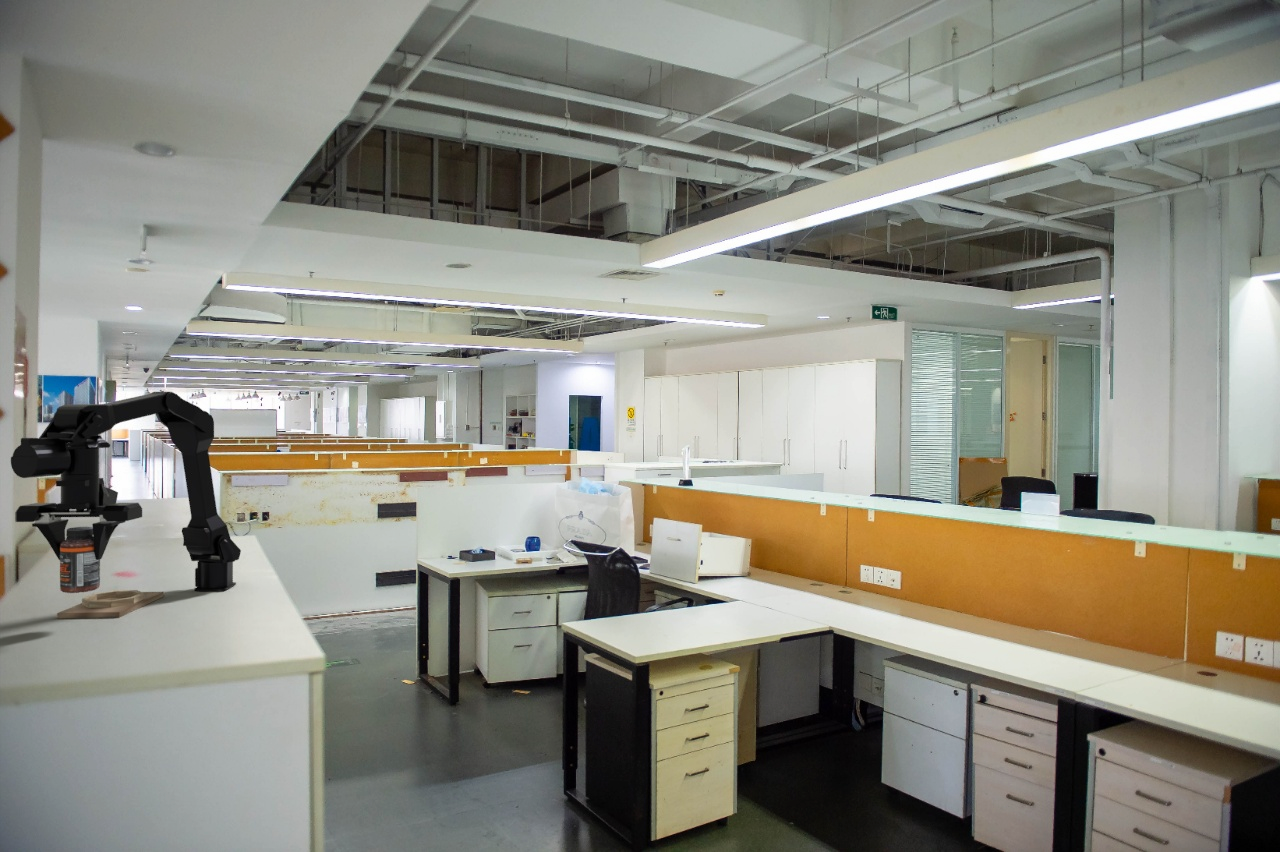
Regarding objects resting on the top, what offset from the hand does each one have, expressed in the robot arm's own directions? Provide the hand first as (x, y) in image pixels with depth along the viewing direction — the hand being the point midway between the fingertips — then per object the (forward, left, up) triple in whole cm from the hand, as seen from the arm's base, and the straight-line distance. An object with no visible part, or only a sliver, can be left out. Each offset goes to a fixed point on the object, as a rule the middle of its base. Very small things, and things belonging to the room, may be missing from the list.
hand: (80, 559), depth 142 cm
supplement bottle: (0, 0, -6) cm, 6 cm away
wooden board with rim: (+2, -15, -12) cm, 19 cm away
